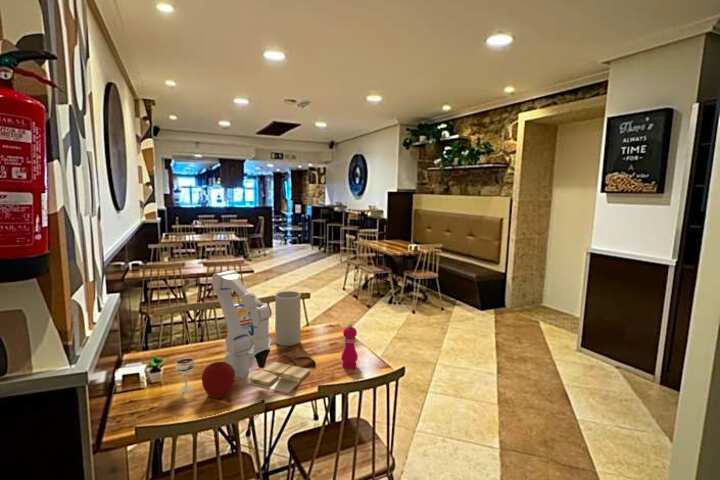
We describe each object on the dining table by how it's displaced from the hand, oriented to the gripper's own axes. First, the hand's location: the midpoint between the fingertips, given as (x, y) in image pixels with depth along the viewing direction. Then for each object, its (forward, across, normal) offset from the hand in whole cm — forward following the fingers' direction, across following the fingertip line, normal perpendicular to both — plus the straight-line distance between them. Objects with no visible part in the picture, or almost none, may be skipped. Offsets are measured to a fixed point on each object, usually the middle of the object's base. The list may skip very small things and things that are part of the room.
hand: (261, 367), depth 154 cm
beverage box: (+7, +24, +27) cm, 37 cm away
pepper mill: (+7, +27, -28) cm, 39 cm away
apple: (+7, -14, +9) cm, 18 cm away
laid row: (+6, +11, -5) cm, 14 cm away
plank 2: (+4, +3, -10) cm, 11 cm away
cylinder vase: (+7, +40, +11) cm, 42 cm away
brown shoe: (+8, +23, -4) cm, 25 cm away
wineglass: (+7, -15, +24) cm, 30 cm away
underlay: (+7, +6, -4) cm, 10 cm away
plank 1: (+6, +2, 0) cm, 6 cm away
